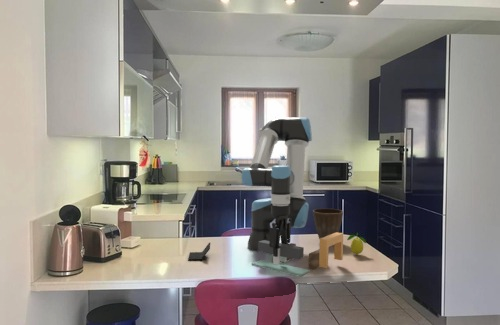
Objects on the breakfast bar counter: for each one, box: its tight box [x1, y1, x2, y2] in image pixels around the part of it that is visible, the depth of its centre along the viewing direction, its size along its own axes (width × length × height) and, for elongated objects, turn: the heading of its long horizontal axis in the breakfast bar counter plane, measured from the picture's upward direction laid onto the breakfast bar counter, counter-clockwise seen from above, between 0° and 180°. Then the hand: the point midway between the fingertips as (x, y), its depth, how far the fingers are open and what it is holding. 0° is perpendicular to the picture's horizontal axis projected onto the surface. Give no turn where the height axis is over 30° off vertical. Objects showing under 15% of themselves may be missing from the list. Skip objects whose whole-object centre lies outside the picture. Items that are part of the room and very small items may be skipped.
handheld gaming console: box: [187, 242, 211, 262], centre depth 175 cm, size 12×7×10 cm
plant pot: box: [312, 208, 344, 240], centre depth 203 cm, size 15×15×16 cm
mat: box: [251, 259, 311, 277], centre depth 160 cm, size 23×7×1 cm, turn 52°
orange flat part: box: [318, 232, 344, 269], centre depth 159 cm, size 3×14×11 cm, turn 142°
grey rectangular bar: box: [257, 240, 305, 261], centre depth 159 cm, size 19×4×4 cm, turn 52°
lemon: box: [347, 232, 367, 256], centre depth 180 cm, size 7×6×10 cm
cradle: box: [280, 242, 320, 270], centre depth 167 cm, size 17×10×6 cm, turn 52°
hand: (279, 262), depth 160 cm, fingers closed on grey rectangular bar, 4 cm apart
